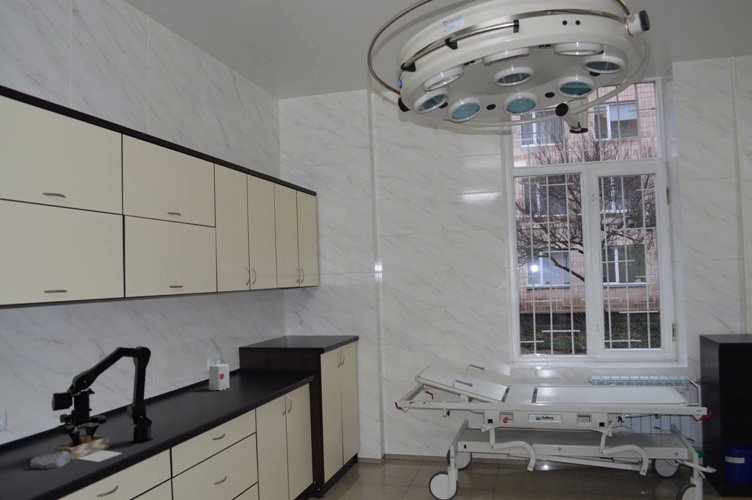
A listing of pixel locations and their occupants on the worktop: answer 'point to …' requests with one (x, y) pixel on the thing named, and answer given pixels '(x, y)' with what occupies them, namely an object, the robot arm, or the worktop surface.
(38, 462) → the stone block
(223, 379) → the supplement box
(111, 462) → the worktop surface
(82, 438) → the walnut block
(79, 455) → the slot box
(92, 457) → the grey mat
